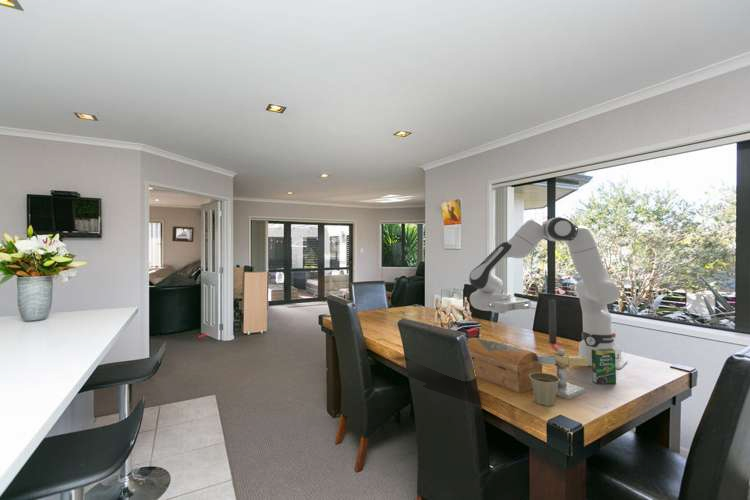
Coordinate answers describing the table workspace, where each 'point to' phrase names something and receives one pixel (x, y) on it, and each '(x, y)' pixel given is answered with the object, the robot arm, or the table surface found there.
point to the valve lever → (553, 328)
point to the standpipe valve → (564, 372)
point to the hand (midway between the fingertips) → (527, 307)
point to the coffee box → (603, 366)
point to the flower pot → (544, 388)
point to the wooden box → (503, 364)
